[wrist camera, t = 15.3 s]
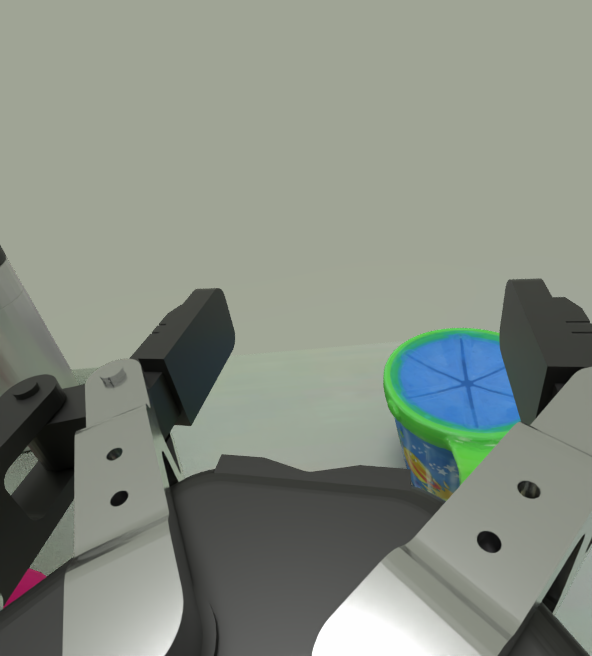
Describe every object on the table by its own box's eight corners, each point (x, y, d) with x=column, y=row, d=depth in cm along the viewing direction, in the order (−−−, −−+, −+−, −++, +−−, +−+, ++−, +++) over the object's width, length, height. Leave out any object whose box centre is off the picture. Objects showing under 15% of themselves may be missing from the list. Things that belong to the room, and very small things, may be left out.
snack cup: (555, 604, 24) (596, 495, 19) (371, 559, 28) (361, 457, 22) (525, 411, 36) (545, 310, 31) (400, 397, 40) (398, 305, 34)
